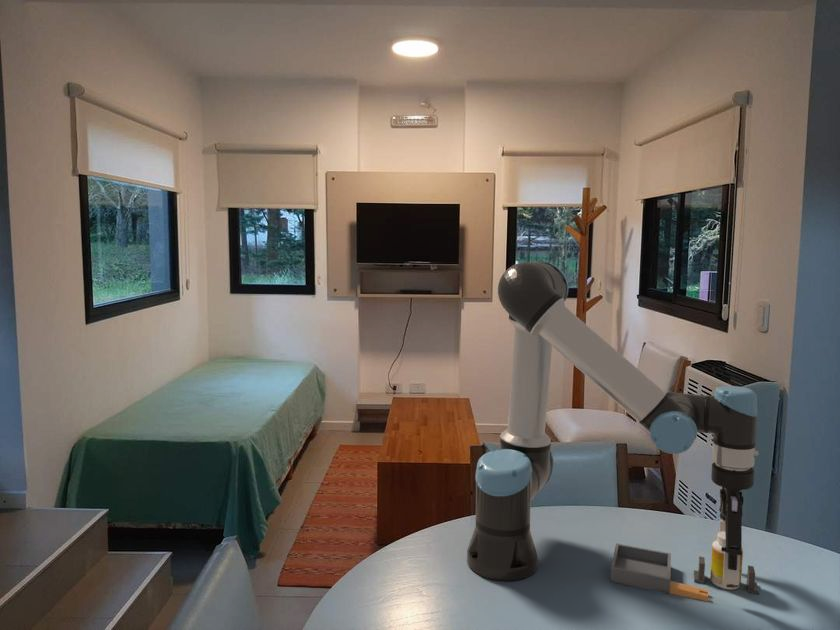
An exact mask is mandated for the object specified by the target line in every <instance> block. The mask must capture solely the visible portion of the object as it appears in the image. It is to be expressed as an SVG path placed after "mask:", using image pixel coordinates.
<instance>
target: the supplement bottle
mask: <svg viewBox="0 0 840 630" xmlns="http://www.w3.org/2000/svg"><path fill="white" fill-rule="evenodd" d="M711 544H712V547H711V560H710V561H711V563H710V578H709V579H710V581H711V583H712V584H713V585H715V586H717V587H718V588H720V589H724V590H730V591H731V590H733V591H734V590H738V589H739V588H740V587H741V583H742V569H743V556H744V549H743V548H742V555H740V574H739V585H733V584H728V583H723V568H724V552H723V551H721V548H722V547H724V548H725V547H726V537H725V532H719V531H718V533H717V538H716V540H714V541H713V542H712V543H711ZM733 547H734V546H733Z"/></svg>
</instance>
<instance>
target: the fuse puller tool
mask: <svg viewBox="0 0 840 630" xmlns="http://www.w3.org/2000/svg"><path fill="white" fill-rule="evenodd" d="M670 594H672V595H675V596H676V595H677V596H681V597H687V598H691V599H695V600H701V601H706V602H708V601H709V590H708V589H704V588H700V587H697V586H694V585H688V584H684V583H680V582H676V581H673V580H670Z"/></svg>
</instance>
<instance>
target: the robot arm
mask: <svg viewBox="0 0 840 630" xmlns="http://www.w3.org/2000/svg"><path fill="white" fill-rule="evenodd" d="M497 285H498V286H497V296H498V300H499V301H500V304H501V306H502V308H503V309H504V311H506V313H508V320H509V322H510V323H511V325H513V327H514V334H513V349H512V350H513V351H512V361H511V362H512V363H511V374H510V375H511V379H510V390H509V402H508V403H509V404H508V415H507V416H508V418H507V428H506V429H505V430H504V431H502V432H501V433H500V436H499V437H500V439H499V440H500V441H499V449H495V450H494V451H493V450H492V451H491V450H490V451H488V452H486V453H484V454H483V455H482V456H481V457H479V459H478V461H477V463H476V470H475V479H474V480H475V527H474V530H473V533H472V535H471V539H470V541H469V543H468V546H467V549H466V563H467V565H468V567H469V569H471V571H473V572H474V573H476V574H477V575H479V576H481V577H483V578H487V579H489V580H494V581H502V582H503V581H504V582H509V581H511V582H513V581H519V580H522V579H526V578H528V577H530V576H531V575H533V574H534V573H535V572H536V571H537V569H538V552H537V547H536V546H535V545H536V544H535V542H534V539H533V536H532V532H531V506H532V505H531V503H532V501H533V499H534V498H535V497H536V496H537V494H538V493H539V492H540V490H541V489H543V487H544V486H546V484H547V483H548V482H549V480H550V478H551V476H552V474H553V471H554V466H555V462H554V460H555V459H554V455H553V452H552V451H551V446H552V445H551V444H552V438H551V437H550V436H549V435H548V434H547V433H546V425H547V415H548V414H547V412H548V399H549V389H550V388H549V386H550V378H551V376H550V375H551V366H552V363H551V362H552V352H553V350H552V349H553V348H554V349H555V350H556V351H557V352H559V353H560V354H561V355H562V357H564V358H565V359H567V361H569V362H570V363H571V364H572V365H573V366H575V368H576V369H578V370H579V371H581V373H583V375H584V376H586V377H587V378H588V379H589V380H590V381H591V382H593V384H594V385H596V386H597V387H598V388H599V389H600V390H601V391H603V392H604V393H605V394H606V395H607V396H608V397H609V398H611V399H612V400H613V401H614V402H615V403H616V404H617V405H619V407H621V408H622V409H623V410H624V411H625V412H626V413H627V414H628V415H630V417H632V418H633V419H634V420H635V421H636V422H638V424H640V426H641V427H643V428H644V429H646V431H648V432H649V434H650V439H651V441H652V442H653V444H654V446H655V447H657V448H658V449H659V450H660V451H662V452H664V453H665V454H671V455H678V454H682V453H685V452H686V451H688V450H689V449H690V448H691V447H692V445H693V444H694V442H695V440H697V435H698V433H701V434H702V433H703V434H712V436H713V437H712V447H711V449H712V450H711V461H712V464H711V476H710V477H711V481H712V483H714V484H715V485H717V486H719V487H721V488H720V489H719V498H720V499H719V500H720V506H719V509H718V511H719V517H720V519H719V531H718V533H719V532H725V537H726V547H725V548H724V547H722V548H721V551H723V552H724V568H723V583H728V584H733V585H739V574H740V555H742V549H743V546H742V543H743V542H742V538H743V537H742V535H743V533H742V527H743V526H742V521H743V520H742V518H743V505H744V503H745V502H744V496H743V490H745V491H746V490H749V489H752V488H753V487H754V484H755V483H754V482H755V469H754V468H753V467H754V466H755V458H756V457H757V456H759V451H758V450H756V443H757V442H756V440H757V425H758V395H757V394H756V392H755V391H754V390H752V389H751V388H748V387H743V386H738V385H721V386H718V387H716V388H715V391H714V394H713V395H702V394H694V393H693V394H691V393H683V392H682V393H681V392H673V391H671V390H670V391H669V390H668V391H664V390H663V389H662V388H660V387H659V386H658V385H657V384H656V383H655V382H654V381H652V380H651V379H650V378H649V377H648V376H647V375H646V374H644V373H643V372H642V371H641V370H639V369H638V367H636V366H635V365H634V364H633V363H631V362H630V361H629V360H628V359H627V358H626V357H624V355H622V354H621V353H620V352H618V350H616V349H615V348H614V347H613V346H612V345H610V343H608V342H607V341H606V340H605V339H604V338H603V337H601V336H600V335H599V334H598V333H596V331H594V330H593V329H592V328H591V327H589V326H588V325H587V324H586V323H585V322H584V321H583V320H582V319H580V318H579V317H578V316H577V315H576V314H574V313H573V312H572V311H571V310H570V309H569V308H567V307H566V303H565V302H566V300H567V298H568V295H569V289H570V288H569V282H568V278H567V276H566V274H565V273H564V272H563V270H562V269H561V268H560V267H558V266H557V265H555V264H554V263H551V262H548V261H543V260H533V261H525V262H519V263H515V264H513V265H511V266H510V267H508V268H507V269H506V270H505V271H504V272H503V273H502V275H501V276H500V279H499V281H498V284H497ZM733 546H734V547H733Z"/></svg>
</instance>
